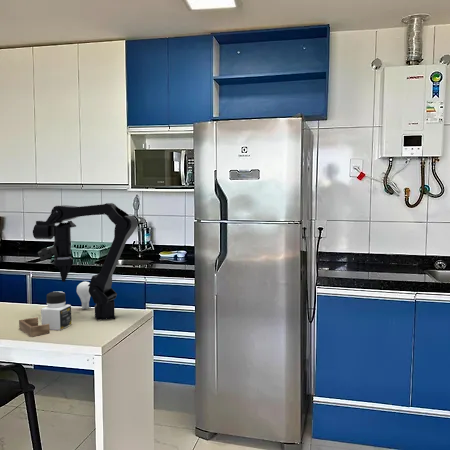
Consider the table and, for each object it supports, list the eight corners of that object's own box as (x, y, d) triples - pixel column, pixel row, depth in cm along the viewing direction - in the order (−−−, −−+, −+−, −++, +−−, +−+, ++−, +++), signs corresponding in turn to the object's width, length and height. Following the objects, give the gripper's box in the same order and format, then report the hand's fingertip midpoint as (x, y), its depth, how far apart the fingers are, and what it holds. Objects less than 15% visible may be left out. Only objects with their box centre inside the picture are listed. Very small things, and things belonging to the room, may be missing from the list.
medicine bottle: (60, 330, 158) (59, 295, 157) (41, 329, 159) (40, 294, 159) (71, 324, 165) (70, 290, 164) (53, 323, 166) (52, 289, 166)
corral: (37, 325, 164) (37, 317, 164) (49, 333, 155) (49, 324, 155) (19, 328, 160) (19, 320, 160) (30, 336, 151) (30, 327, 151)
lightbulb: (76, 308, 188) (75, 280, 188) (92, 306, 191) (92, 279, 190) (77, 311, 183) (77, 283, 182) (94, 310, 185) (94, 282, 184)
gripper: (39, 237, 180) (40, 278, 182) (38, 242, 163) (39, 287, 164) (70, 237, 184) (71, 276, 185) (72, 241, 167) (73, 285, 168)
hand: (63, 281), depth 176 cm, fingers closed
